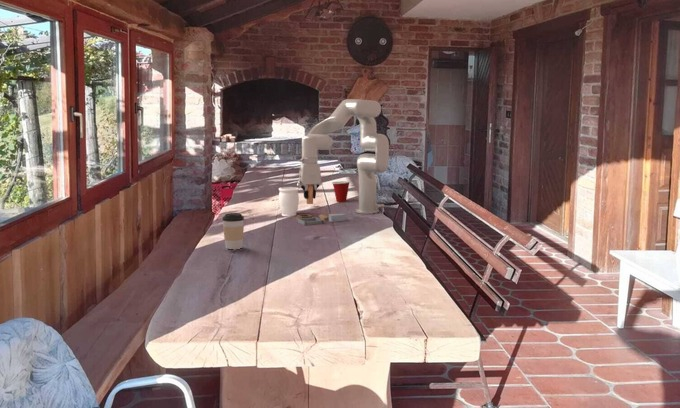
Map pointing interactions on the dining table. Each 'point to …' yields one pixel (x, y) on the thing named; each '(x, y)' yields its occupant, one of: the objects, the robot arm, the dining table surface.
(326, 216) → the tan wooden block
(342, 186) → the plastic cup
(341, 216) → the gray rectangular block
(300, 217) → the holder
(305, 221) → the tray
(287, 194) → the jar
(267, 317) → the dining table surface
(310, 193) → the dowel
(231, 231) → the coffee cup
